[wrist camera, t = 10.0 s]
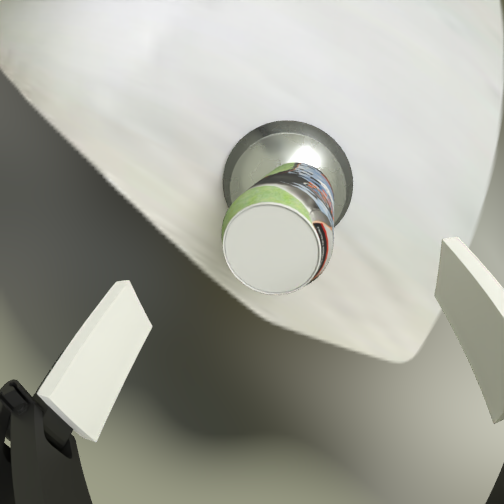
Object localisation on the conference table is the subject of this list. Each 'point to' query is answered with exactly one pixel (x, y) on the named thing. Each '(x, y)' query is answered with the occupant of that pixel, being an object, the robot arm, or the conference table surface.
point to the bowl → (288, 159)
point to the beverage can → (281, 230)
